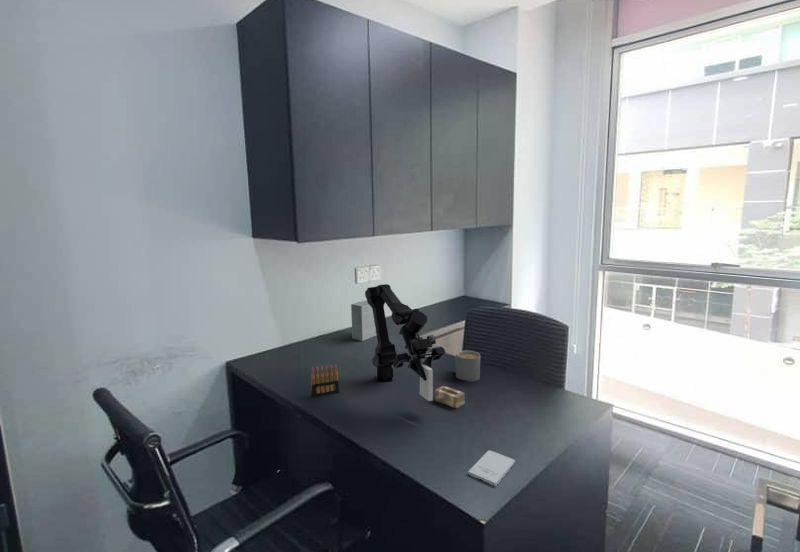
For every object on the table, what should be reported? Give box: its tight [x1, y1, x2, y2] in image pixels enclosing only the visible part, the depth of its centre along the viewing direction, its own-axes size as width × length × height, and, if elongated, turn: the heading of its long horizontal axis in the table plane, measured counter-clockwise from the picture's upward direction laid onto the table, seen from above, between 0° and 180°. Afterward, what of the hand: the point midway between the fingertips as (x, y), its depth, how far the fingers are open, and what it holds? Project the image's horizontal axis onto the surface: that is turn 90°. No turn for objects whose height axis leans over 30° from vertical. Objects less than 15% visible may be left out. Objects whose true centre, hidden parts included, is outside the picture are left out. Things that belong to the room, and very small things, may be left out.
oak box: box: [434, 385, 466, 409], centre depth 149 cm, size 10×5×4 cm, turn 48°
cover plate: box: [419, 363, 434, 402], centre depth 140 cm, size 6×2×11 cm, turn 28°
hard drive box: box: [350, 299, 377, 342], centre depth 227 cm, size 16×8×20 cm, turn 144°
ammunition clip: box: [310, 362, 340, 398], centre depth 156 cm, size 11×2×12 cm, turn 113°
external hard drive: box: [467, 449, 516, 487], centre depth 111 cm, size 2×8×12 cm
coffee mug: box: [454, 350, 481, 383], centre depth 173 cm, size 13×10×10 cm
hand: (428, 379), depth 138 cm, fingers closed on cover plate, 2 cm apart
